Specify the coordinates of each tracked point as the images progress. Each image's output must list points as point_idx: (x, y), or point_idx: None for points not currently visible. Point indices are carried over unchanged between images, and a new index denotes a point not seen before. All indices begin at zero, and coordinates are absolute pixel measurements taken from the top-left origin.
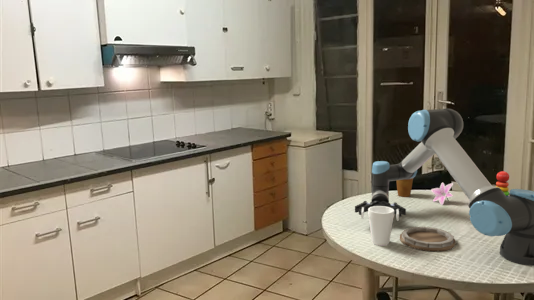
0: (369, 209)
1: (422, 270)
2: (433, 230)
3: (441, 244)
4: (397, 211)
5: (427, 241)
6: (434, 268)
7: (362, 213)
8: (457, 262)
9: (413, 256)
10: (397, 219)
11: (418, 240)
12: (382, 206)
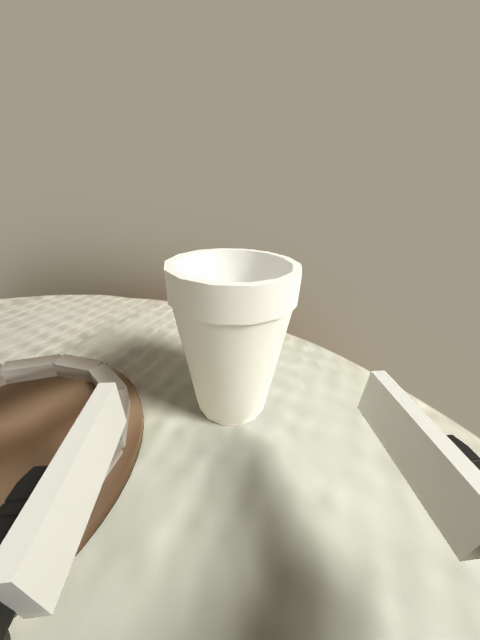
0: (290, 260)
1: (146, 304)
2: None
3: (8, 363)
4: (71, 451)
5: (21, 415)
6: (117, 310)
7: (373, 378)
8: (38, 332)
9: (141, 339)
10: (120, 414)
11: (60, 417)
12: (229, 282)
